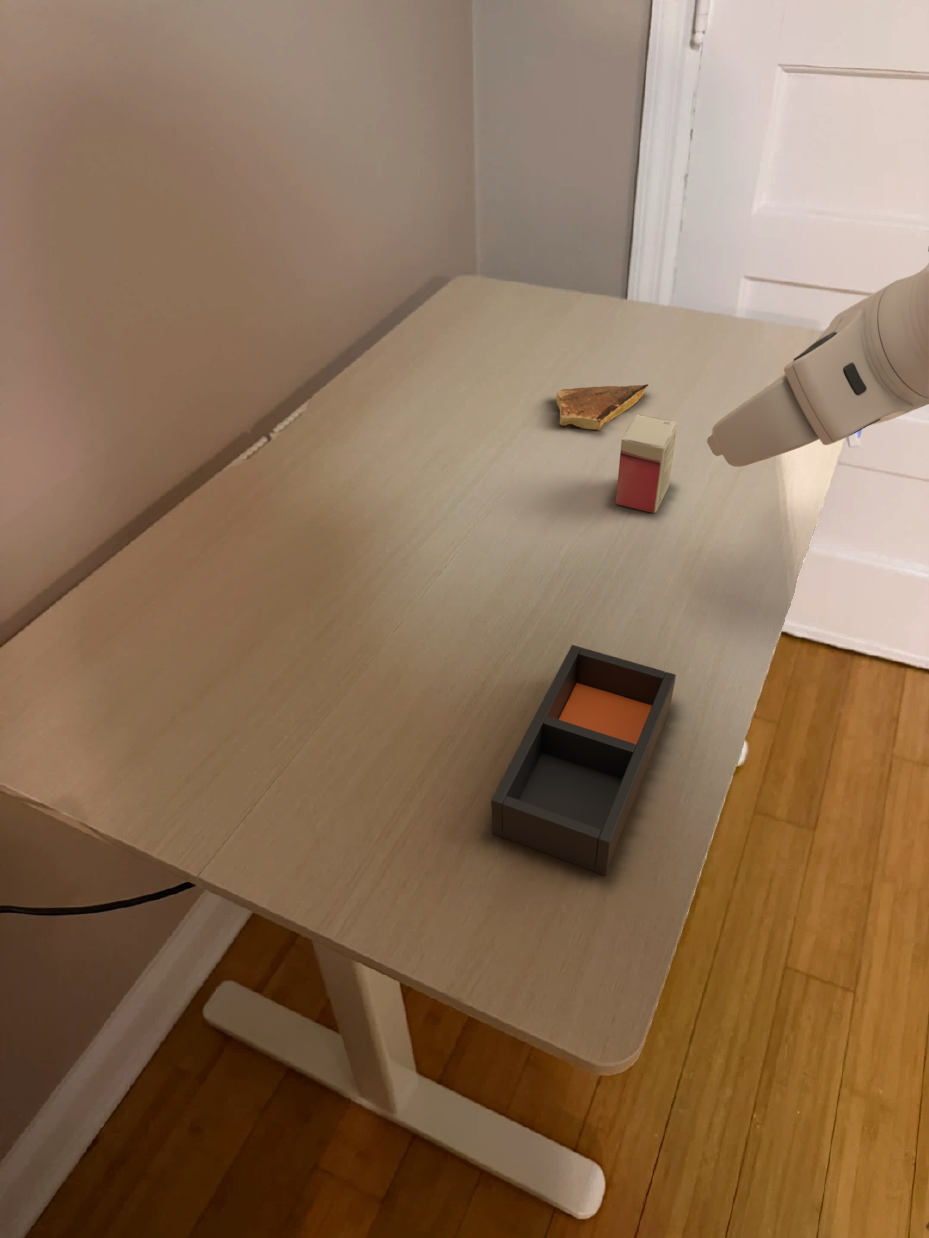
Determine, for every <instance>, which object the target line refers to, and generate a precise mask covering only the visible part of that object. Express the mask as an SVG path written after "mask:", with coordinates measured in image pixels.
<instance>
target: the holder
mask: <svg viewBox="0 0 929 1238" xmlns="http://www.w3.org/2000/svg"><path fill="white" fill-rule="evenodd" d="M676 676H677V675H676V674H675V673H672V672H669V671H665V670H662V669H658V668H656V667H655V668H654V667H651V666H649V665H644V664H641V663H637V662H634V661H630V660H626V659H623V658H620V657H616V656H613V655H609V654H606V653H602V652H598V651H595V650H592V649H589V648H585V647H581V646H579V645H575V644H571V646H570V648H569V650H568V651H567V653H566V656H565V657H564V659H563V660H562V662H561V664H560V667H559V669H558V670H557V673H556V674H555V677H554V679H553V680H552V682H551V684H550V685H549V688H548V690H547V691H546V694H545V696H544V697H543V700H542V701H541V703H540V705H539V707H538V709H537V711H536V712H535V714H534V717H533V719H532V720H531V722H530V725H529V726H528V728H527V730H526V731H525V734H524V736H523V738H522V740H521V742H520V744H519V746H518V747H517V749H516V751H515V753H514V755H513V757H512V759H511V761H510V763H509V765H508V767H507V769H506V770H505V772H504V774H503V776H502V778H501V780H500V782H499V784H498V786H497V787H496V790H495V792H494V793H493V795H492V797H491V800H490V804H491V806H490V807H491V827H492V829H491V831H492V834H494V835H497V836H499V837H501V838H504V839H507V840H509V841H513V842H515V843H518V844H520V845H523V846H526V847H528V848H531V849H532V850H533V849H534V850H536V851H539V852H542V853H544V854H547V855H550V856H552V857H555V858H558V859H559V860H563V861H566V862H568V863H571V864H574V865H576V866H579V867H582V868H584V869H587V870H590V871H593V872H594V873H598V874H600V875H603V876H606V875H607V874H608V871H609V868H610V865H611V863H612V860H613V858H614V855H615V853H616V850H617V848H618V845H619V843H620V839H621V836H622V835H623V832H624V829H625V827H626V824H627V822H628V819H629V817H630V815H631V811H632V809H633V807H634V803H635V801H636V798H637V796H638V793H639V791H640V788H641V785H642V783H643V780H644V777H645V775H646V772H647V769H648V768H649V765H650V762H651V759H652V757H653V755H654V751H655V749H656V747H657V743H658V741H659V739H660V736H661V733H662V732H663V728H664V725H665V724H666V720H667V719H668V715H669V713H670V710H671V704H672V699H673V694H674V688H675V684H676V683H675V682H676V678H677V677H676Z"/></svg>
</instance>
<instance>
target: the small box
mask: <svg viewBox="0 0 929 1238" xmlns="http://www.w3.org/2000/svg"><path fill="white" fill-rule="evenodd" d="M678 425H679V422H678V421H674V420H669V419H664V418H658V417H653V416H649V415H643V414H635V416H634V418H633V419H632V420H631V422H630V424H629V426H628V427H627V429H626V430H625V432H624V434H623V436H622V438H621V441H620V442H621V443H620V453H619V464H618V474H617V485H616V497H615V504H616V505H618V506H623V507H627V508H630V509H635V510H639V511H644V512H647V513H652V514H656V513H657V511H658V509H659V507H660V505H661V503H662V502H663V500H664V497H665V496H666V493H667V491H668V489H669V486H670V478H671V472H672V466H673V459H674V452H675V446H676V445H675V444H676V438H677V431H678Z"/></svg>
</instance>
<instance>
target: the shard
mask: <svg viewBox="0 0 929 1238" xmlns="http://www.w3.org/2000/svg"><path fill="white" fill-rule="evenodd" d="M648 387H649V384H648V383H647V384H641V385H640V384H636V385H635V384H633V385H620V386H618V385H605V386H603V385H602V386H586V387H575V388H563V389H560V390H559V391H557V392H556V399H555V402H556V405H557V407H558V409H559V425H560V426H567V425H572V426H575V427H578V428H581V429H585V430H600V429H601V428H602V427H603V425H605V424H607V423H609V422H611V421H612V420H613V419H614V418H615V417H618V416H620V415H621V414H623V413H624V412H626V411H627V410H629V409H631V407H632V406H634V405H635V404H636V403H638V402H639V400H640V399H641V398H642V397H643V396H644V393H645V390H646V389H647V388H648Z"/></svg>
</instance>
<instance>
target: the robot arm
mask: <svg viewBox="0 0 929 1238" xmlns="http://www.w3.org/2000/svg"><path fill="white" fill-rule="evenodd" d="M927 251H928V252H927V253H929V247H928V250H927ZM783 372H784V373H783V374H781V376H779V377H778V378H777V379H775V380H773V382H771V383H770V384H768V385H767V386H766V387H764V388H763V389H762V390H760V391H759V392H757V393H755V394H754V395H753V396H751V397H750V398H749V399H747V400H746V401H744V402H743V403H741V404H740V405H739V406H738V407H736V408H734V409H733V410H732V411H730V412H729V413H727V414H726V415H724V417H722V418H721V419H719V420H718V421H717V422H716V423H715V424H714V425H713V426H712V427H711V435H710V436H708V437H707V439H706V443H707V445H708V447H709V449H710V450H711V452H712V454H713V455H714V456H716V457H720V456H723V458H724V459H725V462H726V463H727V464H728V465H729V466H731V467H734V468H735V467H736V468H740V467H746V466H749V465H753V464H755V463H759V462H761V461H764V460H768V459H771V458H774V457H777V456H779V455H783V454H786V453H789V452H791V451H794V450H797V449H800V448H802V447H805V446H807V445H810V444H812V443H814V442H817V441H820V442H821V443H822V445H823V446H829V445H833V444H835V443H837V442H839V441H841V440H844V439H846V438H848V437H850V436H854V434H857V433H859V432H860V431H862V430H863V429H865V428H867V427H869V426H874V425H877V424H881V423H884V422H888V421H891V420H894V419H896V418H899V417H901V416H903V415H906V414H908V413H910V412H913V411H915V410H918V409H920V408H923V407H926V406H928V405H929V262H928V263H927V264H926V265H925V266H924V268H923V269H921V270H920V271H918V272H915V274H912V275H909V276H905V277H903V278H899V279H896V280H894V281H893V282H890V283H889V284H887V285H886V286H884V287H882V288H880V289H879V290H877V291H875V292H873V293H872V294H870V295H868V296H867V297H864V298H863V299H861V300H859V301H858V302H856V303H854V304H852V305H850V306H849V307H847V308H845V309H844V310H841V311H840V312H839V313H837V314H836V315H835V317H834V318H833V319H832V320H831V322H830V323H829V325H828V327H827V328H826V329H825V330H824V331H822V333H821V334H820V335H819V337H818V338H817V339H816V340H815V341H814V342H813V343H812V344H810V345H809V347H807V348H806V349H805V350H803V352H801V353H800V354H798V355H797V356H795V358H793V360H792V361H790V362H789V363H786V365H785V366H784V367H783Z"/></svg>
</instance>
